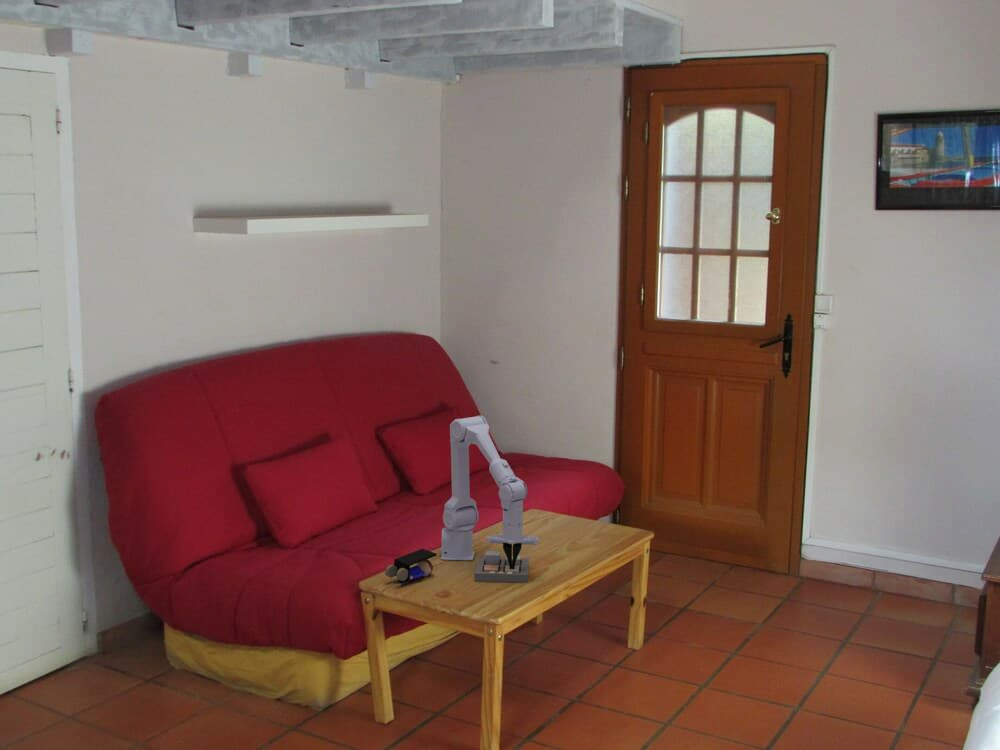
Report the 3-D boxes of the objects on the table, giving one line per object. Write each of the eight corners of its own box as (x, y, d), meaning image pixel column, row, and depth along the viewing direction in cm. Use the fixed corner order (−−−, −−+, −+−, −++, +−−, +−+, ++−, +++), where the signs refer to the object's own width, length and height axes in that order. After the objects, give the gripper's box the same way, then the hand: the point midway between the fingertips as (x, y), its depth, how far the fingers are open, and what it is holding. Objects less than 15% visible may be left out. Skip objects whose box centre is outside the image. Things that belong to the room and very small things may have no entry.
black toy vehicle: (402, 593, 321) (439, 575, 332) (399, 568, 319) (437, 550, 330) (385, 588, 325) (422, 569, 336) (383, 563, 323) (420, 545, 334)
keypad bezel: (474, 581, 327) (474, 572, 327) (478, 564, 342) (478, 556, 341) (527, 583, 326) (527, 574, 326) (528, 565, 341) (528, 557, 340)
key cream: (504, 576, 329) (504, 570, 328) (505, 572, 333) (505, 565, 332) (518, 577, 329) (518, 570, 328) (519, 572, 333) (519, 565, 332)
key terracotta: (483, 576, 329) (483, 569, 329) (484, 571, 333) (484, 565, 333) (497, 576, 329) (497, 569, 329) (498, 572, 333) (498, 565, 333)
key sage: (505, 569, 335) (505, 559, 334) (506, 565, 339) (506, 555, 338) (519, 570, 335) (519, 559, 334) (520, 565, 338) (520, 555, 338)
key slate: (485, 565, 335) (485, 555, 334) (486, 561, 339) (486, 550, 338) (499, 566, 335) (499, 555, 334) (499, 561, 339) (499, 551, 338)
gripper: (486, 526, 325) (486, 572, 327) (537, 527, 324) (537, 573, 326) (488, 519, 332) (487, 564, 334) (538, 520, 331) (537, 565, 333)
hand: (512, 568), depth 330 cm, fingers closed, pressing on key cream
